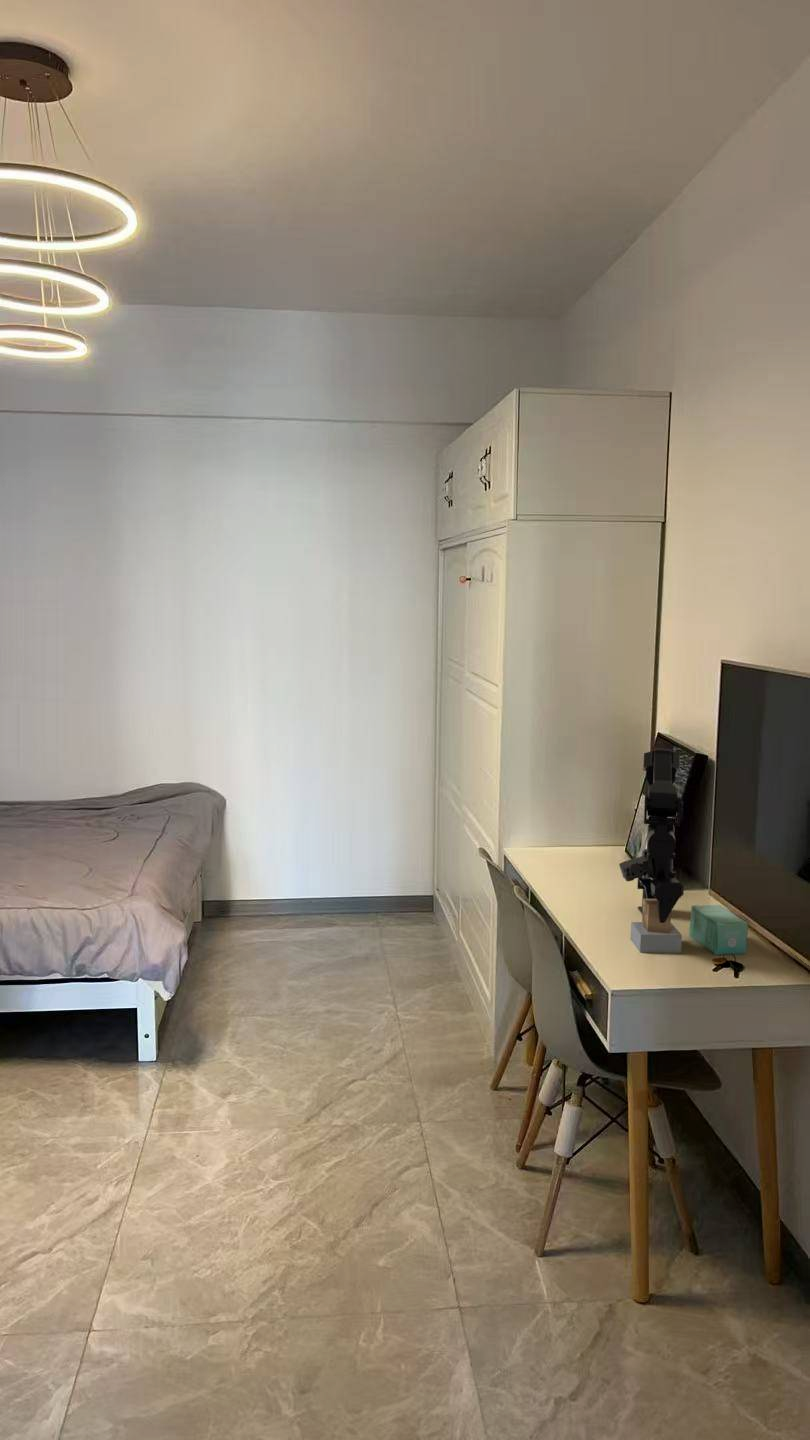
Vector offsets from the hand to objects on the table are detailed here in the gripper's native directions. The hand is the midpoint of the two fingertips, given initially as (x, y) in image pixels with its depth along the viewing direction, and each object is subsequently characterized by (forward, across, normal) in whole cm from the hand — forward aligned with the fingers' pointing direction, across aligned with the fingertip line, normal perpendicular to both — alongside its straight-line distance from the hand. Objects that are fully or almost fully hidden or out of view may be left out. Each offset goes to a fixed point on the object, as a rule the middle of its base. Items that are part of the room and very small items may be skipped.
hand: (656, 916), depth 239 cm
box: (+7, -1, +14) cm, 16 cm away
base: (+7, 0, 0) cm, 7 cm away
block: (+3, 0, 0) cm, 3 cm away
